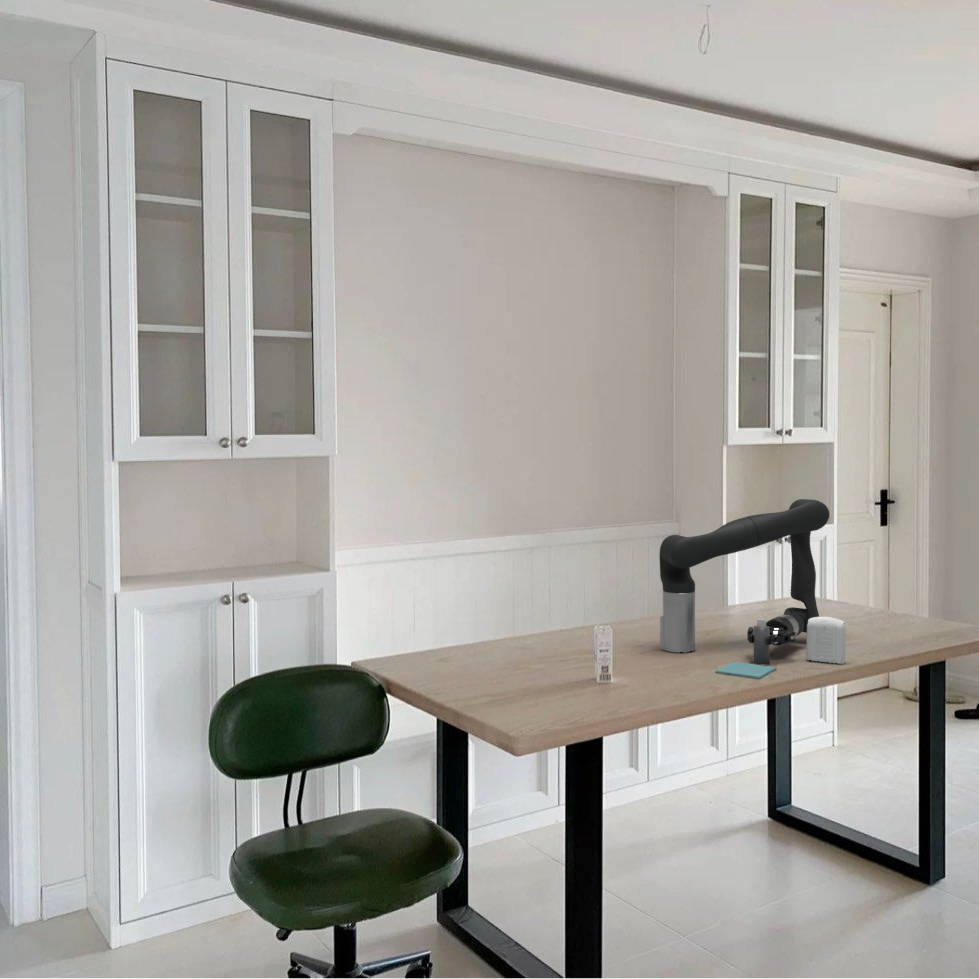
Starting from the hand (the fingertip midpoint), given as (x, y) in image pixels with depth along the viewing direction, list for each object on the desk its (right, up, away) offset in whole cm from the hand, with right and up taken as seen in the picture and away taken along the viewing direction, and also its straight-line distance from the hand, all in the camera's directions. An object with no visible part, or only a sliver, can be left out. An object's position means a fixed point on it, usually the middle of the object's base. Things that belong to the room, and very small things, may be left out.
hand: (759, 640), depth 279 cm
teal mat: (-5, -7, -7) cm, 11 cm away
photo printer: (+19, -6, +3) cm, 20 cm away
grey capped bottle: (+1, -7, +2) cm, 7 cm away
